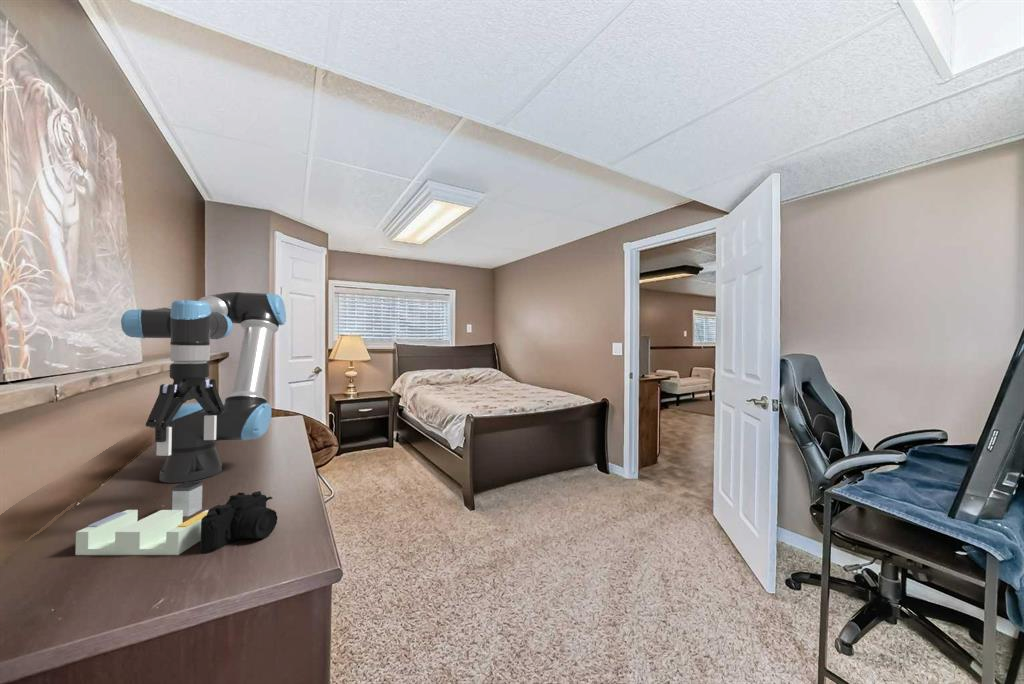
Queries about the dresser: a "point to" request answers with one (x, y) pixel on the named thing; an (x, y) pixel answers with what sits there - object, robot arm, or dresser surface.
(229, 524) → the film camera
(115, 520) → the socket block
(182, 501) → the plug
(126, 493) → the dresser surface
